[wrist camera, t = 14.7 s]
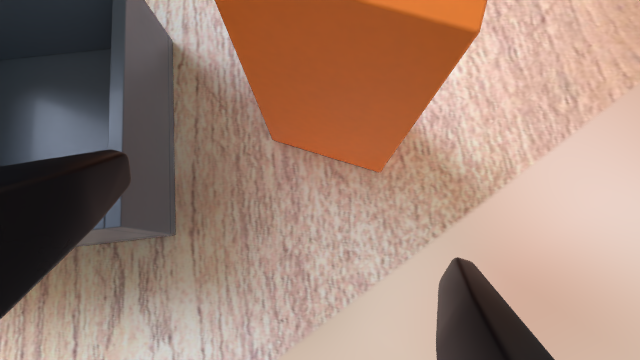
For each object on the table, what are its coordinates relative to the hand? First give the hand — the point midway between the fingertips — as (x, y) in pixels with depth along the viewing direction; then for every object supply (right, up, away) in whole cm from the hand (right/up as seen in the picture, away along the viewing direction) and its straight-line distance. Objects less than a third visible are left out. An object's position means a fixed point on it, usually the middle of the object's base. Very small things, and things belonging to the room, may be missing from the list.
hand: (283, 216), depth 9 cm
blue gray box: (-12, +3, +9) cm, 16 cm away
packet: (+2, +4, +9) cm, 10 cm away
